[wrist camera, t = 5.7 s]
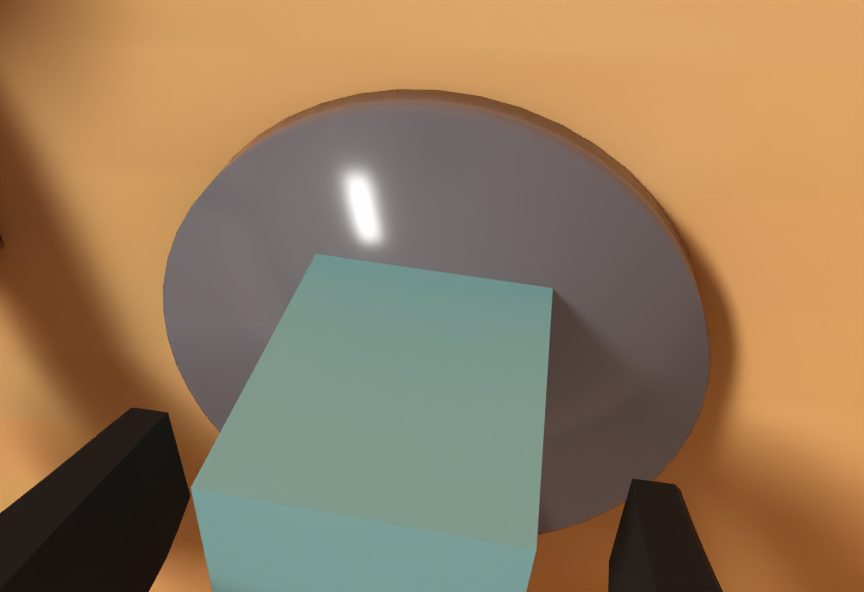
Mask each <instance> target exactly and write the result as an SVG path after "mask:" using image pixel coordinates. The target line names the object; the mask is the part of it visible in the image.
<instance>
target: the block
mask: <svg viewBox="0 0 864 592" xmlns="http://www.w3.org/2000/svg"><path fill="white" fill-rule="evenodd" d="M552 293H553V288H548V287H541V286H534V285H528V284H521V283H514V282H507V281H500V280H493V279H486V278H479V277H473V276H466V275H459V274H452V273H445V272H438V271H431V270H424V269H418V268H411V267H404V266H397V265H390V264H383V263H376V262H369V261H362V260H356V259H349V258H342V257H335V256H328V255H321V254H315V256H314V258H313V260H312V262H311V264H310V266H309V268H308V269H307V271H306V273H305V275H304V277H303V279H302V281H301V283H300V284H299V286H298V288H297V290H296V292H295V294H294V296H293V297H292V299H291V301H290V303H289V305H288V307H287V309H286V311H285V312H284V314H283V316H282V318H281V320H280V322H279V324H278V325H277V327H276V329H275V331H274V333H273V335H272V337H271V339H270V340H269V342H268V344H267V346H266V348H265V350H264V352H263V353H262V355H261V357H260V359H259V361H258V363H257V365H256V367H255V368H254V370H253V372H252V374H251V376H250V378H249V380H248V381H247V383H246V385H245V387H244V389H243V391H242V393H241V395H240V396H239V398H238V400H237V402H236V404H235V406H234V408H233V410H232V411H231V413H230V415H229V417H228V419H227V421H226V423H225V424H224V426H223V428H222V430H221V432H220V434H219V436H218V438H217V439H216V441H215V443H214V445H213V447H212V449H211V451H210V452H209V454H208V456H207V458H206V460H205V462H204V464H203V466H202V467H201V469H200V471H199V473H198V475H197V477H196V479H195V480H194V482H193V484H192V486H191V492H192V497H193V502H194V506H195V511H196V516H197V521H198V525H199V530H200V535H201V539H202V544H203V549H204V553H205V558H206V563H207V568H208V572H209V577H210V582H211V586H212V591H213V592H526V591H527V587H528V583H529V579H530V575H531V571H532V566H533V562H534V558H535V554H536V550H537V534H538V518H539V502H540V486H541V470H542V454H543V437H544V421H545V405H546V389H547V373H548V357H549V341H550V325H551V309H552Z"/></svg>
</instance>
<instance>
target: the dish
mask: <svg viewBox="0 0 864 592" xmlns="http://www.w3.org/2000/svg"><path fill="white" fill-rule="evenodd" d="M315 254H321V255H328V256H335V257H342V258H349V259H356V260H362V261H369V262H376V263H383V264H390V265H397V266H404V267H411V268H418V269H424V270H431V271H438V272H445V273H452V274H459V275H466V276H473V277H479V278H486V279H493V280H500V281H507V282H514V283H521V284H528V285H534V286H541V287H548V288H553V293H552V309H551V325H550V341H549V357H548V373H547V389H546V405H545V421H544V437H543V454H542V470H541V486H540V502H539V518H538V534H542V533H547V532H551V531H555V530H559V529H563V528H566V527H569V526H572V525H575V524H578V523H580V522H583V521H586V520H589V519H591V518H593V517H595V516H597V515H599V514H602V513H604V512H606V511H608V510H610V509H612V508H614V507H616V506H617V505H619V504H620V503H622V502H624V501H625V500H626V499H627V495H628V492H629V488H630V485H631V481H632V478H633V479H640V480H647V481H652V480H653V479H654V478H656V477H657V476H658V475H659V474H660V473H661V472H662V470H663V469H664V468H665V467H666V466H667V465H668V464H669V463H670V462H671V461H672V459H673V458H674V457H675V456H676V455H677V453H678V452H679V450H680V449H681V447H682V445H683V444H684V442H685V441H686V439H687V438H688V436H689V435H690V433H691V431H692V429H693V426H694V424H695V422H696V420H697V417H698V415H699V413H700V410H701V408H702V404H703V400H704V396H705V391H706V387H707V383H708V372H709V353H710V351H709V343H708V335H707V328H706V320H705V316H704V311H703V306H702V301H701V297H700V292H699V287H698V283H697V280H696V277H695V274H694V270H693V267H692V264H691V261H690V258H689V255H688V253H687V251H686V249H685V247H684V245H683V243H682V241H681V239H680V237H679V235H678V233H677V231H676V229H675V227H674V225H673V224H672V222H671V221H670V219H669V218H668V217H667V215H666V214H665V212H664V211H663V210H662V208H661V207H660V205H659V204H658V203H657V201H656V200H655V199H654V197H653V196H652V195H651V194H650V193H649V192H648V191H647V190H646V189H645V188H644V187H643V186H642V184H641V183H640V182H639V181H638V180H637V179H636V178H635V177H634V176H633V175H632V174H631V173H630V172H629V171H628V170H627V169H626V168H625V167H623V166H622V165H621V164H619V163H618V162H617V161H616V160H614V159H613V158H612V157H610V156H609V155H608V154H607V153H605V152H604V151H603V150H601V149H600V148H599V147H598V146H596V145H595V144H593V143H591V142H590V141H588V140H586V139H585V138H583V137H581V136H579V135H578V134H576V133H574V132H573V131H571V130H569V129H567V128H566V127H564V126H562V125H561V124H558V123H556V122H554V121H551V120H549V119H547V118H544V117H542V116H540V115H537V114H535V113H532V112H530V111H528V110H525V109H523V108H520V107H517V106H513V105H509V104H506V103H502V102H499V101H495V100H492V99H488V98H484V97H481V96H474V95H467V94H461V93H454V92H447V91H440V90H389V91H380V92H372V93H363V94H356V95H352V96H349V97H345V98H341V99H337V100H333V101H329V102H325V103H321V104H319V105H316V106H314V107H312V108H309V109H307V110H304V111H302V112H299V113H297V114H295V115H292V116H290V117H288V118H286V119H284V120H283V121H281V122H279V123H278V124H276V125H274V126H273V127H271V128H270V129H268V130H266V131H265V132H263V133H261V134H260V135H258V136H257V137H256V138H255V139H254V140H252V141H251V142H250V143H249V144H248V145H247V146H245V147H244V148H243V149H242V150H241V151H240V152H238V153H237V154H236V155H235V156H234V157H233V158H232V159H231V161H230V162H229V163H228V164H227V165H226V166H225V167H224V169H223V170H222V171H221V172H220V173H219V174H218V176H217V177H216V178H215V179H214V180H213V181H212V183H211V184H210V185H209V186H208V187H207V188H206V190H205V191H204V192H203V193H202V194H201V196H200V197H199V198H198V199H197V200H196V202H195V203H194V204H193V205H192V206H191V208H190V210H189V212H188V213H187V215H186V217H185V219H184V220H183V222H182V224H181V226H180V227H179V229H178V231H177V233H176V236H175V239H174V242H173V245H172V248H171V250H170V253H169V256H168V260H167V266H166V272H165V278H164V284H163V306H164V318H165V324H166V330H167V336H168V340H169V343H170V346H171V349H172V352H173V356H174V359H175V362H176V365H177V367H178V369H179V371H180V373H181V375H182V377H183V379H184V381H185V383H186V385H187V387H188V389H189V391H190V392H191V394H192V396H193V397H194V399H195V400H196V402H197V403H198V405H199V406H200V408H201V410H202V411H203V412H204V414H205V415H206V416H207V417H208V419H209V420H210V421H211V422H212V424H213V425H214V426H215V427H216V428H217V430H218V431H219V432H221V430H222V428H223V426H224V424H225V423H226V421H227V419H228V417H229V415H230V413H231V411H232V410H233V408H234V406H235V404H236V402H237V400H238V398H239V396H240V395H241V393H242V391H243V389H244V387H245V385H246V383H247V381H248V380H249V378H250V376H251V374H252V372H253V370H254V368H255V367H256V365H257V363H258V361H259V359H260V357H261V355H262V353H263V352H264V350H265V348H266V346H267V344H268V342H269V340H270V339H271V337H272V335H273V333H274V331H275V329H276V327H277V325H278V324H279V322H280V320H281V318H282V316H283V314H284V312H285V311H286V309H287V307H288V305H289V303H290V301H291V299H292V297H293V296H294V294H295V292H296V290H297V288H298V286H299V284H300V283H301V281H302V279H303V277H304V275H305V273H306V271H307V269H308V268H309V266H310V264H311V262H312V260H313V258H314V256H315ZM538 534H537V535H538Z"/></svg>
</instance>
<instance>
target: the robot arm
mask: <svg viewBox="0 0 864 592" xmlns="http://www.w3.org/2000/svg"><path fill="white" fill-rule="evenodd" d="M189 498H190V493H189V489H188V486H187V482H186V478H185V475H184V471H183V467H182V463H181V460H180V456H179V452H178V448H177V445H176V441H175V437H174V434H173V430H172V426H171V422H170V419H169V415H168V413H167V412H160V411H153V410H146V409H139V408H131V409H129V410H128V411H127V412H126V413H124V414H123V415H122V416H121V417H119V418H118V419H117V420H116V421H114V422H113V423H112V424H111V425H109V426H108V427H107V428H106V429H104V430H103V431H102V432H101V433H99V434H98V435H97V436H96V437H95V438H93V439H92V440H91V441H90V442H88V443H87V444H86V445H85V446H84V447H82V448H81V449H80V450H79V451H77V452H76V453H75V454H74V455H73V456H71V457H70V458H69V459H68V460H66V461H65V462H64V463H63V464H62V465H60V466H59V467H58V468H57V469H55V470H54V471H53V472H52V473H51V474H49V475H48V476H47V477H46V478H44V479H43V480H42V481H40V482H39V483H38V484H37V485H35V486H34V487H33V488H32V489H30V490H29V491H28V492H27V493H25V494H24V495H23V496H21V497H20V498H19V499H18V500H16V501H15V502H14V503H13V504H11V505H10V506H9V507H8V508H6V509H5V510H4V511H2V512H1V513H0V592H149V590H150V588H151V586H152V584H153V583H154V581H155V579H156V577H157V575H158V573H159V571H160V569H161V567H162V565H163V563H164V561H165V560H166V558H167V555H168V553H169V550H170V548H171V545H172V543H173V540H174V538H175V536H176V533H177V531H178V528H179V525H180V523H181V520H182V517H183V515H184V512H185V509H186V506H187V504H188V501H189ZM608 592H723V591H722V589H721V587H720V585H719V582H718V580H717V578H716V576H715V574H714V571H713V569H712V567H711V565H710V562H709V560H708V558H707V556H706V553H705V551H704V549H703V547H702V544H701V542H700V539H699V537H698V535H697V532H696V530H695V527H694V525H693V522H692V520H691V517H690V515H689V512H688V509H687V507H686V504H685V501H684V499H683V496H682V493H681V491H680V490H679V488H678V487H677V486H676V485H675V484H668V483H661V482H654V481H647V480H640V479H633V478H632V481H631V485H630V488H629V492H628V495H627V499H626V503H625V506H624V510H623V513H622V517H621V520H620V524H619V528H618V531H617V535H616V538H615V542H614V545H613V549H612V553H611V556H610V560H609V587H608Z"/></svg>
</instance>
